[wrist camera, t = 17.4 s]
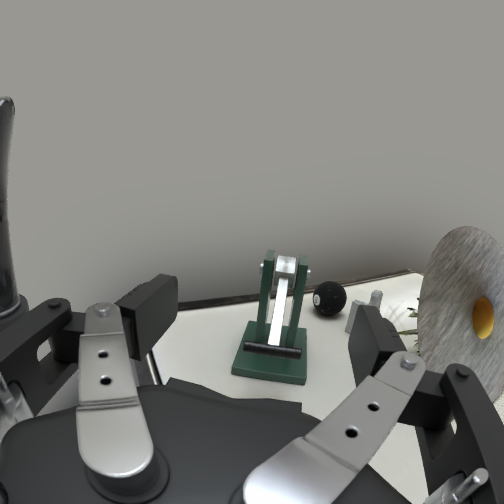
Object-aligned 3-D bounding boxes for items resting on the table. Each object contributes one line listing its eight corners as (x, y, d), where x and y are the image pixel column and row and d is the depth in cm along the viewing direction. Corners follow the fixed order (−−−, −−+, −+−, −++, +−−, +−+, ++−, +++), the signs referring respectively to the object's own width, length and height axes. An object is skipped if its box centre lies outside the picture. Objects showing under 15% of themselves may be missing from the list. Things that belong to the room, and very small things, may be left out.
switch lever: (298, 365, 26) (302, 353, 24) (242, 356, 26) (242, 344, 25) (306, 273, 36) (309, 259, 34) (263, 267, 36) (264, 253, 35)
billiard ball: (348, 317, 49) (355, 287, 47) (322, 323, 46) (329, 291, 45) (330, 304, 54) (336, 275, 52) (304, 307, 52) (310, 277, 50)
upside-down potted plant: (479, 388, 35) (459, 268, 45) (546, 377, 19) (514, 225, 29) (368, 428, 34) (352, 278, 45) (432, 447, 18) (400, 223, 29)
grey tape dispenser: (344, 331, 44) (373, 314, 50) (351, 335, 43) (378, 317, 49) (352, 300, 43) (380, 287, 49) (359, 303, 41) (386, 289, 48)
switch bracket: (304, 385, 31) (329, 280, 27) (231, 374, 32) (239, 267, 28) (305, 334, 42) (320, 249, 39) (248, 326, 44) (256, 241, 40)
